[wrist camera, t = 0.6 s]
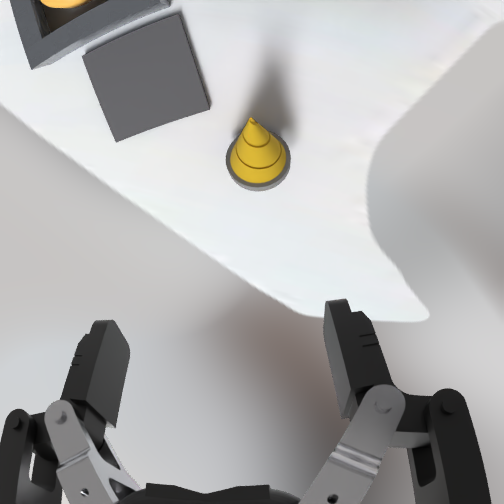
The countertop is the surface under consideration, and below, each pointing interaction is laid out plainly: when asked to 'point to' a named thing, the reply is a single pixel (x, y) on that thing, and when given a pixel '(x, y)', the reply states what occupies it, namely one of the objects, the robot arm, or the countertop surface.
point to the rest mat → (146, 78)
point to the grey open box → (73, 26)
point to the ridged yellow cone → (258, 158)
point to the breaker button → (65, 3)
